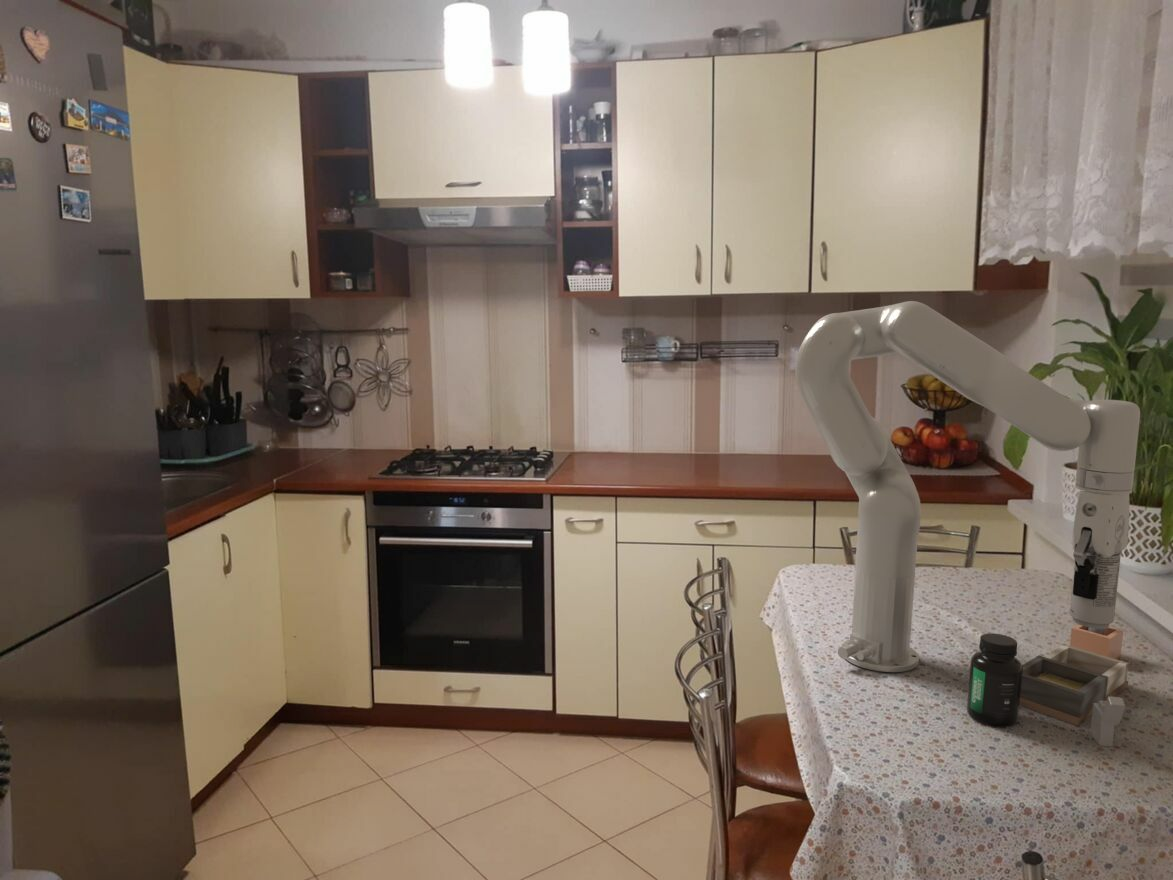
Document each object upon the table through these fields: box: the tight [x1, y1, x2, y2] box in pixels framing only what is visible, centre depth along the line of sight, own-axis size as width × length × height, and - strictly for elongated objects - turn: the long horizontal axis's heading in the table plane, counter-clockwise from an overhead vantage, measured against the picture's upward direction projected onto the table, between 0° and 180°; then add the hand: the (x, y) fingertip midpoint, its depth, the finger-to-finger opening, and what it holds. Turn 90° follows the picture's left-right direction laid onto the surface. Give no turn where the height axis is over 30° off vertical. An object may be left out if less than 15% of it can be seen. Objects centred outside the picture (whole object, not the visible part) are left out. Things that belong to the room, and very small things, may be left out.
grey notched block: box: [1089, 696, 1126, 748], centre depth 115 cm, size 7×2×8 cm, turn 164°
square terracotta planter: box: [1069, 624, 1124, 660], centre depth 144 cm, size 6×6×9 cm
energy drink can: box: [1069, 541, 1122, 629], centre depth 131 cm, size 6×6×15 cm
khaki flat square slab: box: [1036, 672, 1085, 691], centre depth 128 cm, size 7×7×1 cm
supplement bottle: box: [966, 632, 1023, 728], centre depth 122 cm, size 7×7×12 cm
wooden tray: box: [1019, 643, 1129, 726], centre depth 130 cm, size 20×10×4 cm, turn 130°
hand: (1093, 591), depth 132 cm, fingers closed on energy drink can, 6 cm apart
